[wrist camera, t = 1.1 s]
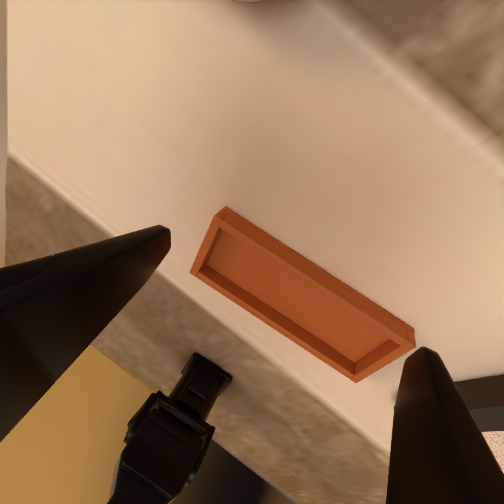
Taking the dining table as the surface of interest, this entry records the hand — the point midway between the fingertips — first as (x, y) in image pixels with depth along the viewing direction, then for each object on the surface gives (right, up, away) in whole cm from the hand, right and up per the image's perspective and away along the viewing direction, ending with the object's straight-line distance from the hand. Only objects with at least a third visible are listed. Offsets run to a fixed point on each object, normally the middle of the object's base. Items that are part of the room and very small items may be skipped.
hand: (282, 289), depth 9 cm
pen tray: (+3, -3, +17) cm, 18 cm away
